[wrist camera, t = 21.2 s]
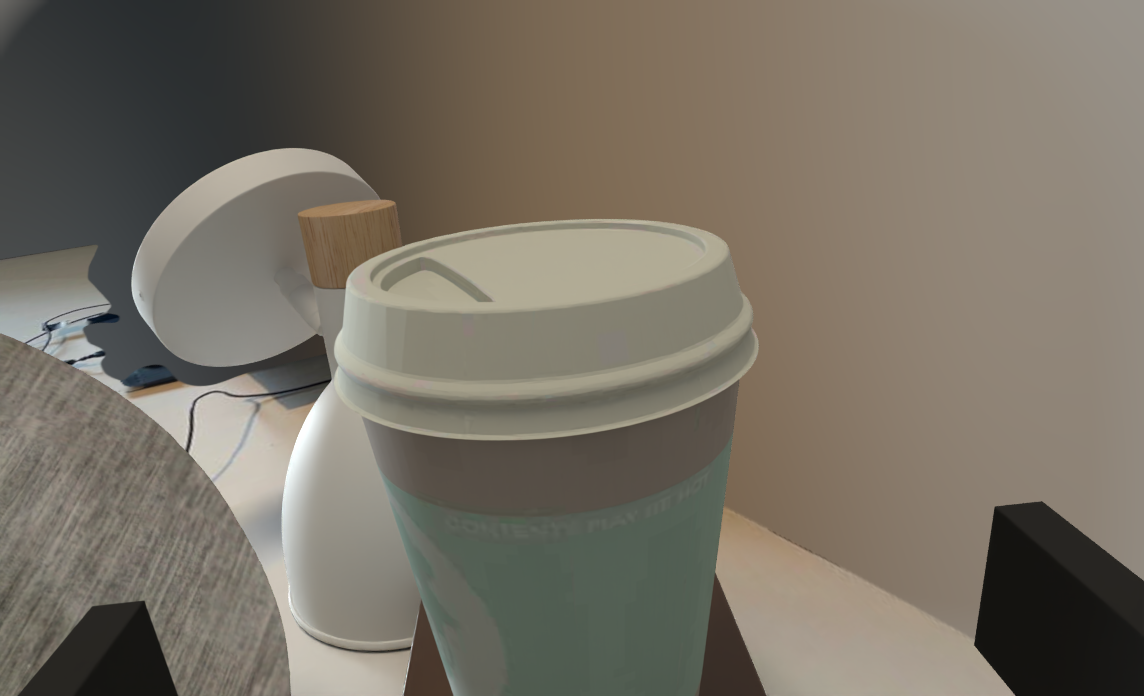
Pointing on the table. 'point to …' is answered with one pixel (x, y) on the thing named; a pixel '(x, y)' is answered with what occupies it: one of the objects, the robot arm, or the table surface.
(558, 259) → the coffee cup
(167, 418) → the table surface
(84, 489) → the grey round piece
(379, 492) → the light fixture
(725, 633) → the wooden trinket box
